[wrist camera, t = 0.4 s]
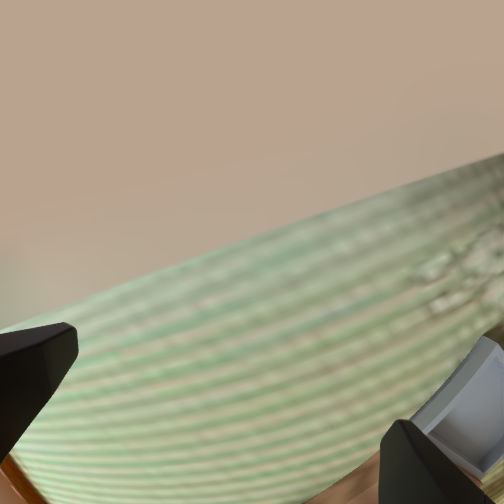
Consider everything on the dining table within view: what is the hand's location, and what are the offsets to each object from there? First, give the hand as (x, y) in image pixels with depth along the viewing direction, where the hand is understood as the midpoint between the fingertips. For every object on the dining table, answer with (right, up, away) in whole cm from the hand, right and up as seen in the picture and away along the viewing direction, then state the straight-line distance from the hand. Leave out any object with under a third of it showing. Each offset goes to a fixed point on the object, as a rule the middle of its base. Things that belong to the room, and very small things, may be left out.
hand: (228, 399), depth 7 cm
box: (+23, -12, +13) cm, 29 cm away
